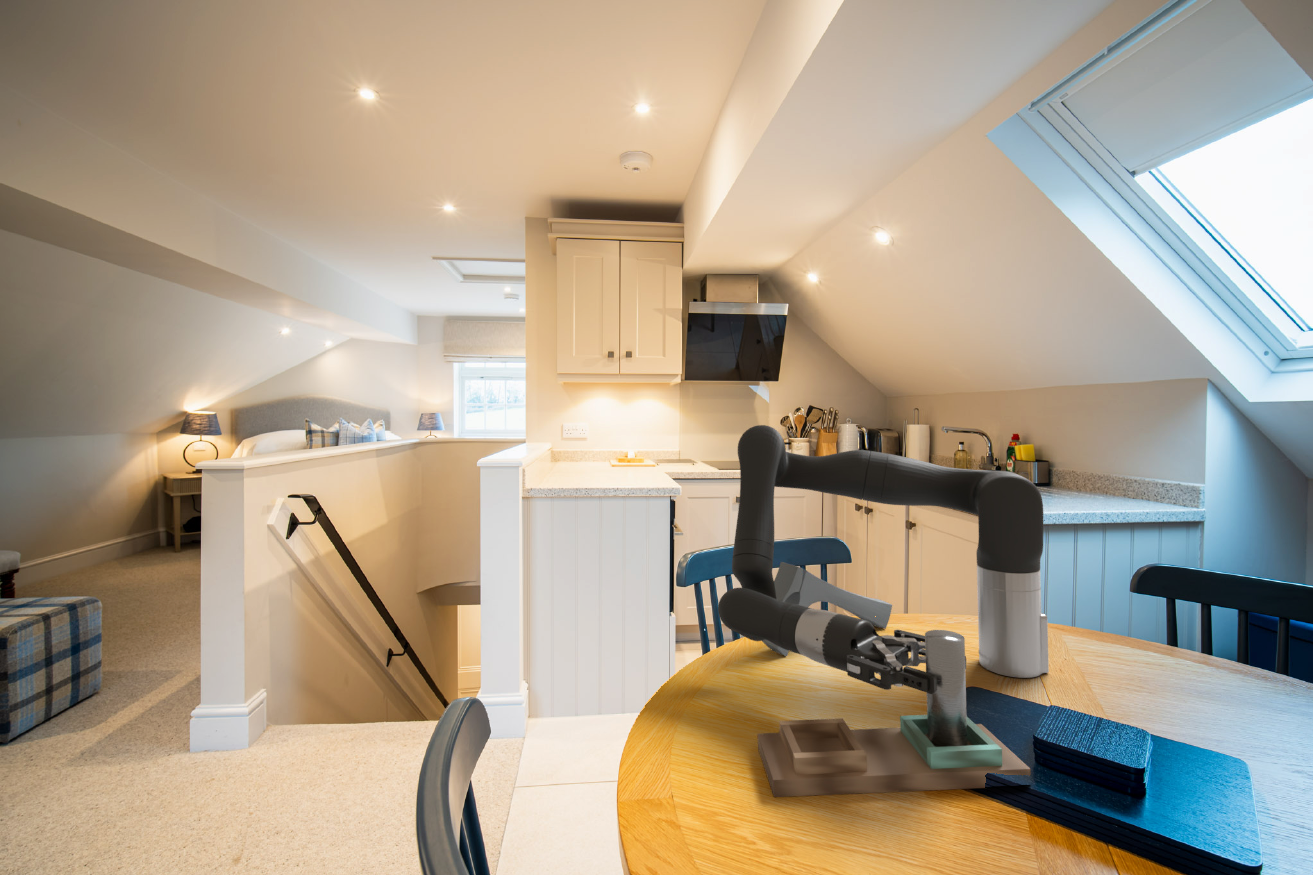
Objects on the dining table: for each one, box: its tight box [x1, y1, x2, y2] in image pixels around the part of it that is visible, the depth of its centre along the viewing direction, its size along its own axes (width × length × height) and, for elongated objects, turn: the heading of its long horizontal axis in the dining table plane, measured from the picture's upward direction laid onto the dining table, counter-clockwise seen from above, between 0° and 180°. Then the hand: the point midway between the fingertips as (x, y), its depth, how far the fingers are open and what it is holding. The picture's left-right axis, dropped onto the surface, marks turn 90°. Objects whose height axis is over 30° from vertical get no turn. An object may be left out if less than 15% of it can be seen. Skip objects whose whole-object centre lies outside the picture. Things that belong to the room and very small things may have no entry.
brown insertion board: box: [757, 714, 1032, 798], centre depth 72 cm, size 30×10×4 cm, turn 90°
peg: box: [924, 629, 968, 747], centre depth 72 cm, size 4×4×14 cm
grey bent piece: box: [761, 561, 893, 657], centre depth 113 cm, size 6×17×30 cm
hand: (951, 673), depth 71 cm, fingers open, 8 cm apart
